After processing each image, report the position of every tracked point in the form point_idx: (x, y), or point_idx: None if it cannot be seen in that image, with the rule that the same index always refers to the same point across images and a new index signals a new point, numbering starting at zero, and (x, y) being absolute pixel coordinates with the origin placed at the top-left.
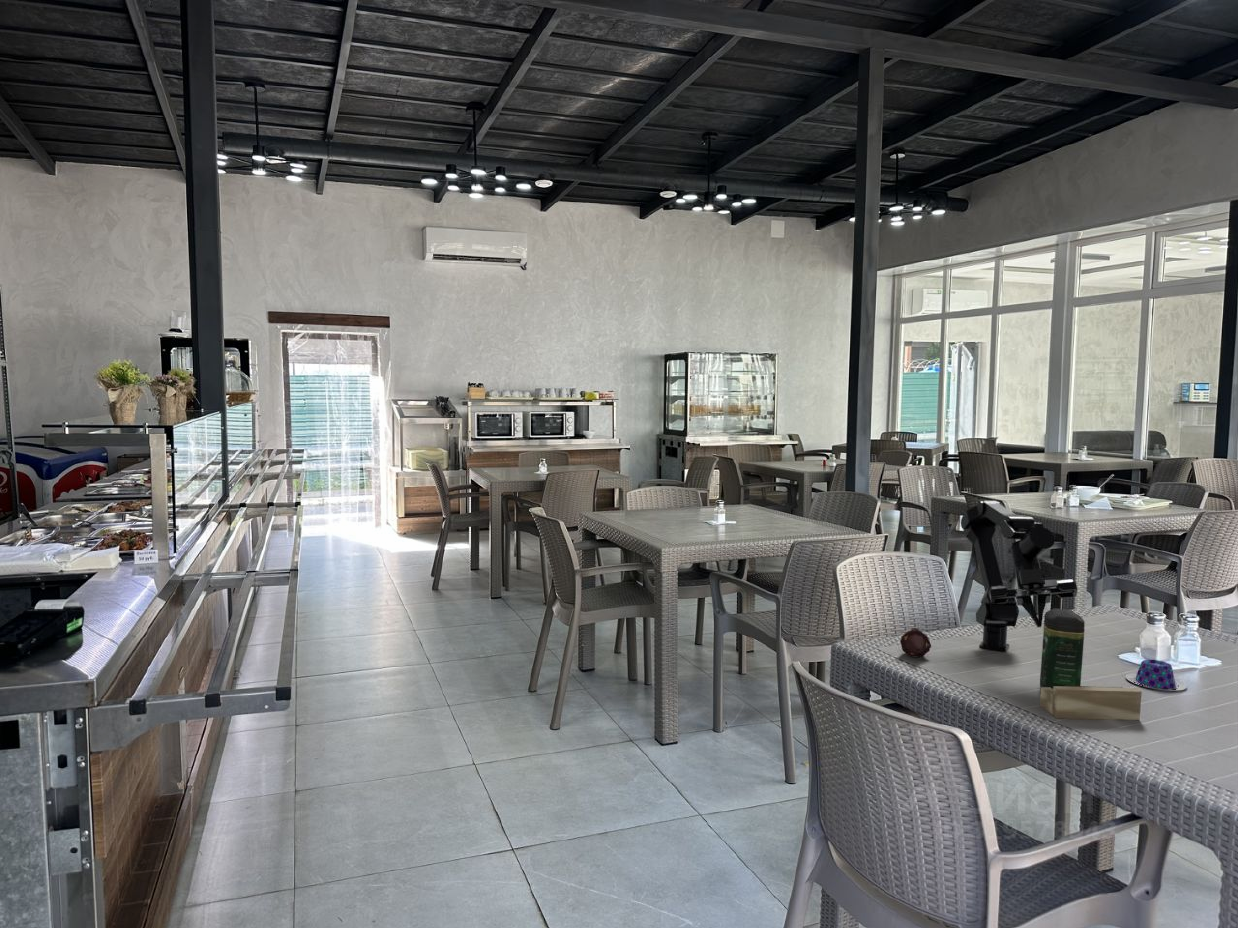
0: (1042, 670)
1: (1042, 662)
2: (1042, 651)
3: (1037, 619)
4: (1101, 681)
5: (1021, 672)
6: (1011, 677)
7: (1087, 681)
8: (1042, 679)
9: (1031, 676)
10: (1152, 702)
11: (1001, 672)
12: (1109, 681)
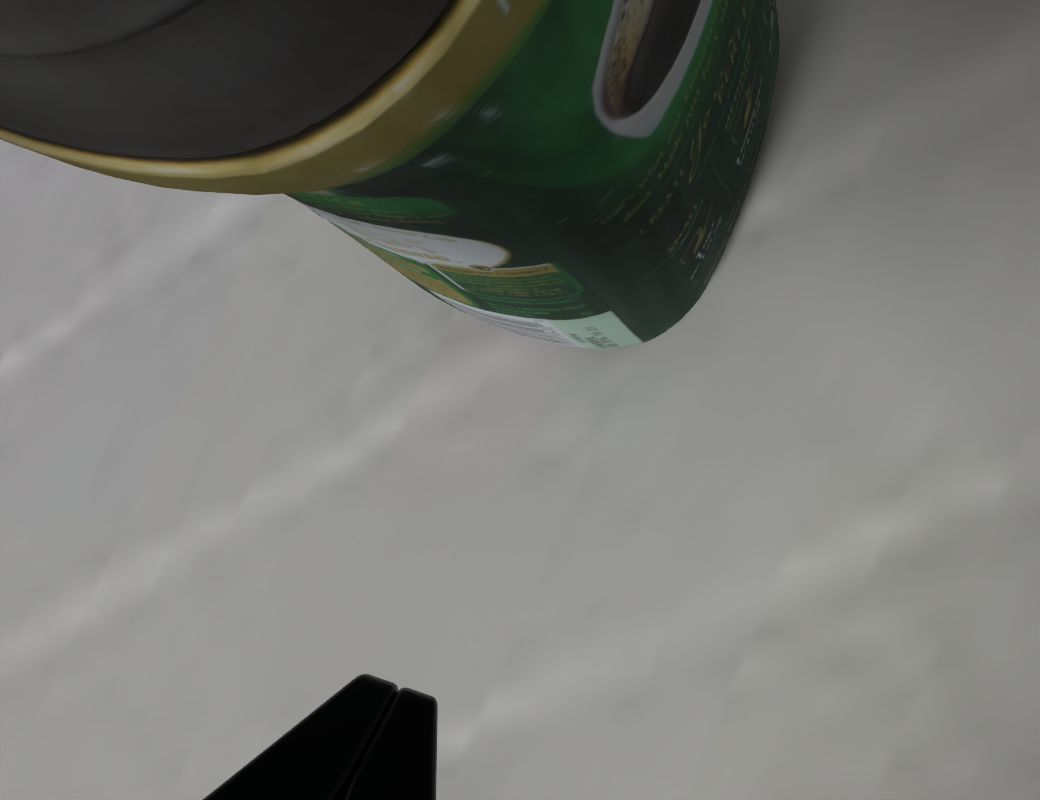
0: (754, 38)
1: (739, 27)
2: (704, 30)
3: (363, 791)
4: (113, 504)
5: (715, 727)
6: (906, 551)
7: (217, 493)
8: (769, 45)
9: (662, 599)
10: None
11: (959, 723)
12: (57, 510)
